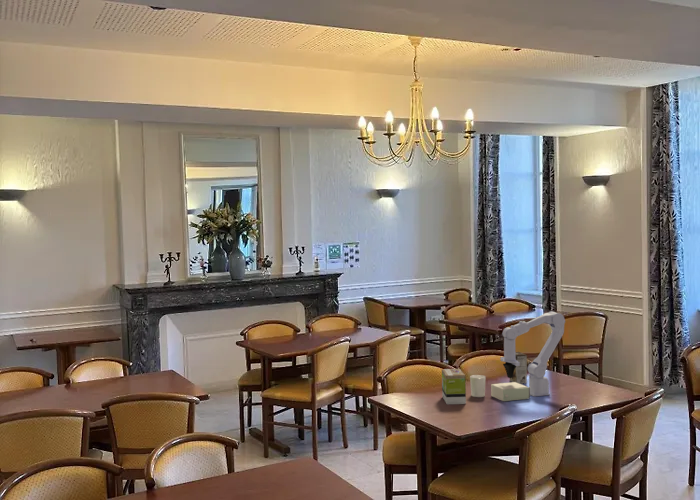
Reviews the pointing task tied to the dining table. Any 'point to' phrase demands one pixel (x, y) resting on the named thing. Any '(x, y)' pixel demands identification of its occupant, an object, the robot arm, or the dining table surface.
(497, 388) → the cabinet
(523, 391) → the door
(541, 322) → the robot arm
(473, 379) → the white cup
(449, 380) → the tea box
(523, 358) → the coffee box
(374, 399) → the dining table surface
